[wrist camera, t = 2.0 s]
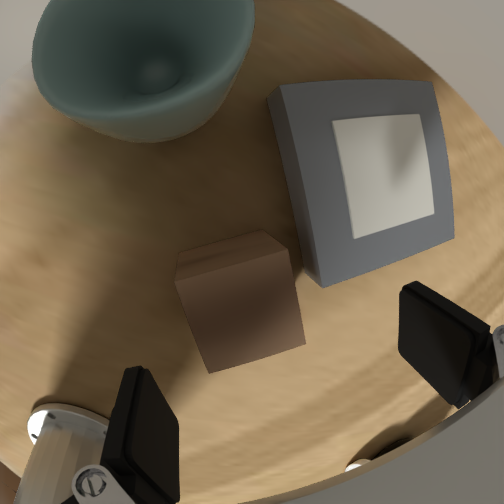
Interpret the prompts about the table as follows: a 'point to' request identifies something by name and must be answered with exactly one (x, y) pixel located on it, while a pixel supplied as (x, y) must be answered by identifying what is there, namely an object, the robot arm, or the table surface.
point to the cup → (141, 62)
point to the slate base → (363, 172)
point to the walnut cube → (240, 299)
